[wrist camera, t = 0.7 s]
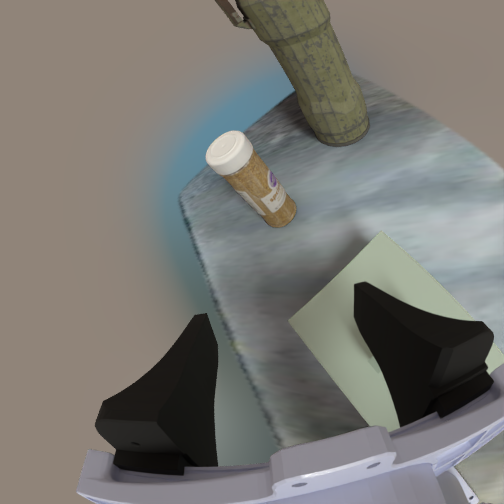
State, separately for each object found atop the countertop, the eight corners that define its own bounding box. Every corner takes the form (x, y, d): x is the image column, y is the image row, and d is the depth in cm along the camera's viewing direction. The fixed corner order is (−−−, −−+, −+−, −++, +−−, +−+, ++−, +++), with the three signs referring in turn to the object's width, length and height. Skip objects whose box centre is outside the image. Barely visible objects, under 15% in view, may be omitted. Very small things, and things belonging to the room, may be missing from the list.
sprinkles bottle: (301, 220, 34) (246, 148, 23) (268, 234, 35) (204, 171, 25) (292, 193, 36) (240, 122, 25) (262, 206, 38) (203, 143, 27)
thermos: (296, 133, 40) (156, -51, 13) (353, 97, 38) (247, -90, 10) (326, 163, 35) (162, -71, 8) (389, 121, 32) (280, -111, 5)
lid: (501, 360, 14) (524, 357, 10) (400, 458, 15) (399, 479, 11) (382, 238, 24) (377, 210, 20) (293, 323, 25) (270, 313, 21)
